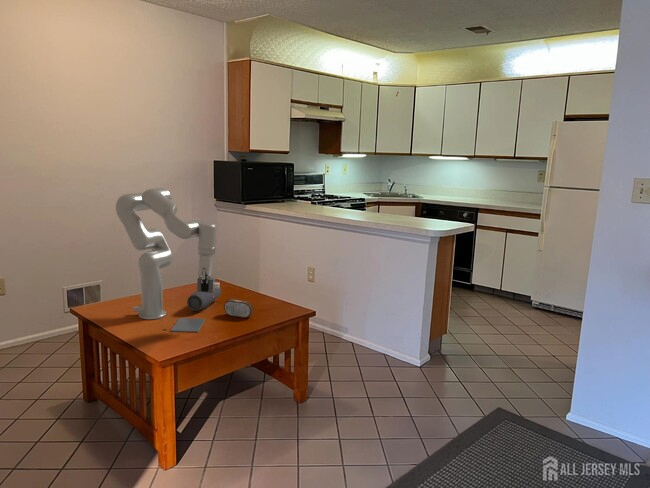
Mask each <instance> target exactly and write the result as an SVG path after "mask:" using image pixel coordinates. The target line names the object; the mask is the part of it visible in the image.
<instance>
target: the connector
mask: <svg viewBox="0 0 650 488" xmlns="http://www.w3.org/2000/svg"><path fill="white" fill-rule="evenodd" d="M206 279H207V278H206ZM201 281H202V276H200V277H199V276H198V278H197V281H196V282H197V284H196V285H197V286H196V287H197V288H196V289H197V290H196V291H197V292H203V291H201ZM215 281H216V279H215V277H211V276H210V277H208V283H209V288H208V293H213V292H214V288H218V289H219V287H220V283H221V282H218V281H217V282H215Z"/></svg>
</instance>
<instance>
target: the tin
mask: <svg viewBox="0 0 650 488" xmlns="http://www.w3.org/2000/svg"><path fill="white" fill-rule="evenodd" d="M223 310H224V312H225V313H226V315H228V316H229V317H230V316H231V317H236V318H241V319H247V318H249V317H251V316H252V315H253V314H254V306H253V304H252V302H250V301H248V300H244V299H243V300H242V299H235V298H229V299H228V300H227V301H225V302H224V304H223Z"/></svg>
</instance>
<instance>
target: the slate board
mask: <svg viewBox="0 0 650 488" xmlns="http://www.w3.org/2000/svg"><path fill="white" fill-rule="evenodd" d="M205 321H206V318H190V317H189V318H188V317H179V318H178V320H177V321H176V322H175V324H173V326H172V328H171V329H170V332H173V333H174V332H175V333H177V332H178V333H199V331H200V329H201V328H202V326H203V324H204V323H205Z"/></svg>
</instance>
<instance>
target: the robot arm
mask: <svg viewBox="0 0 650 488" xmlns="http://www.w3.org/2000/svg"><path fill="white" fill-rule="evenodd" d="M172 197H173V196H172V194H171V192H170V191H169V190H168V189H167V188H163V187H159V188H158V187H157V188H156V187H155V188H149V189H146V190H145V191H143V192H134V193H133V192H132V193H126V194H123V195H121V196H120V197H118V199H117V200H116V203H115V212H116V215H117V217H118V219H119V220H120V222H121V223H122V225H123V227H124V229H125V231H126V234H127V235H128V238H129V239H130V241H131V244H132V246H133V248H134V249H135V250H137V251H140V252H141V251H146V252H143V253H142V254H140V256H139V258H138V261H137V263H138V268H139V273H140V285H141V286H140V287H141V288H140V289H141V295H140V296H141V305H140V306H136V305H135V306H134V305H133V307H132V310H133V312H138V318H139V319H142V320H158V319H162V318H164V317H166V315H167V311H166V310H164V309H163V308H164V305H163V304H164V302H163V301H164V300H163V277H162V274H161V272H160V270H162V269H165V268H168V267H170V266H171V265H172V264H173V262H174V256H173V253H172V251H171V250H172V249H170V246H169V244H168V242H167V239H166V238H165V235H164V234H163V233H162V231H160V230H159V229H157V228H148V229H147V227H146V226H145V224H144V222H143V220H142V218H141V217H140V216H139V215H138V214H136V212H139V211H140V212H141V211H147V210H148V211H149V210H152V211H153V212H154V213H156V215H158V216H159V217H161V218H162V219H163V222H164V224H165V226H166V228H167V230H168V231H170V232H171V233H172V234H173V235H175V236H176V237H177V238H179V239H182V240H189V239H193V238H198V241H197V243H198V249H197V252H198V255H199V259H198V260H199V261H198V272H197V273H198V274H197V276H198V278H199V277H202V281H201V291H203V292H208V288H209V283H208V277H210V278H211V274H212V272H213V266H214V265H213V264H214V263H213V261H214V256H215V255H216V242H217V239H216V238H217V226H216V224H214V223H211V222H204V221H202V220H198V219H197V220H196V219H195V220H189V221H184V220H181V219H180V218H179V217H177V215H176V214H177V212H178V205H177V204H176V203H174V202H173V201H172V199H173V198H172ZM147 250H149V251H147ZM206 278H207V279H206Z"/></svg>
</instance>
